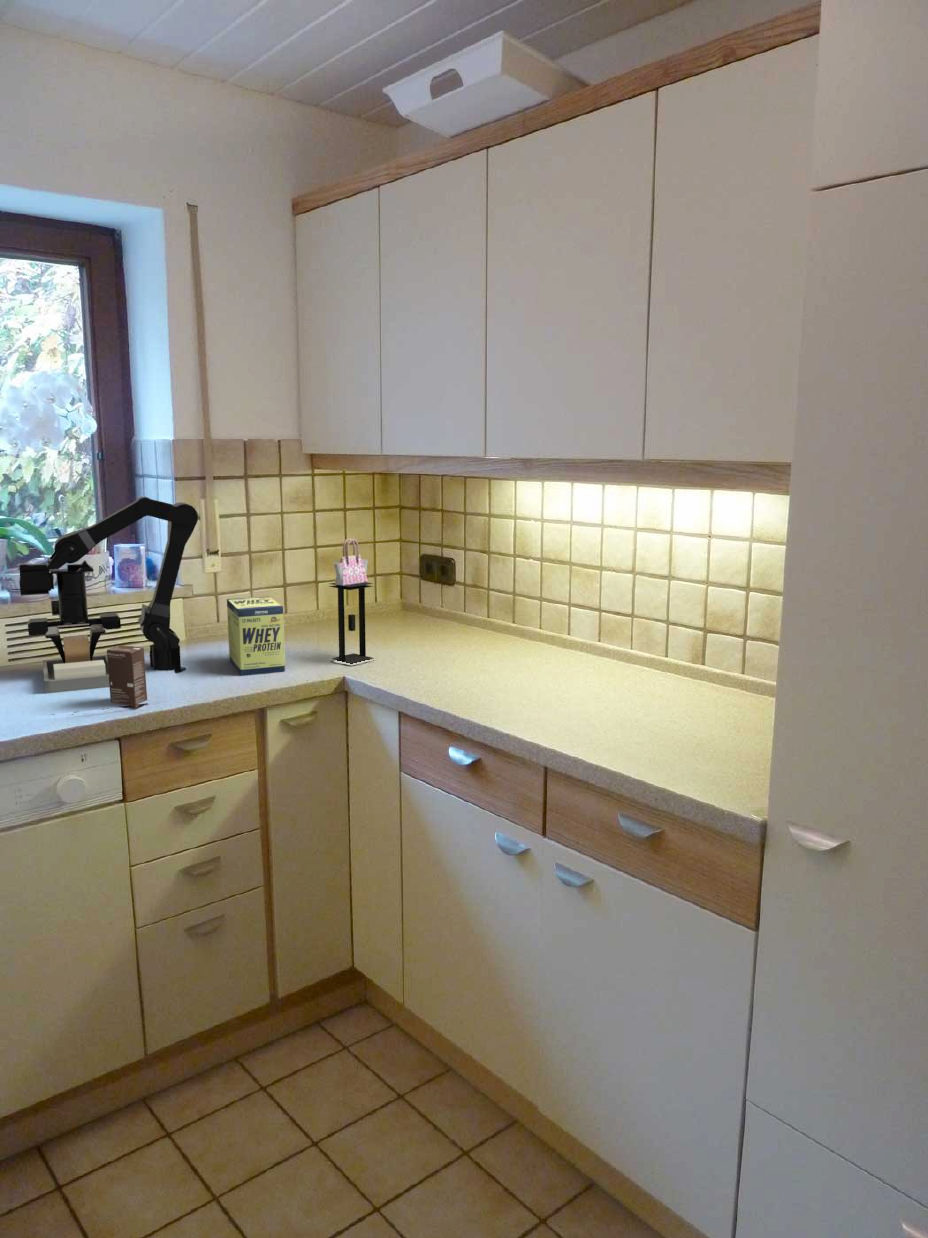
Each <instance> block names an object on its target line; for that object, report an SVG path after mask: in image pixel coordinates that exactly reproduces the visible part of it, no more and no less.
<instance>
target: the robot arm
mask: <svg viewBox="0 0 928 1238" xmlns="http://www.w3.org/2000/svg"><path fill="white" fill-rule="evenodd" d="M144 517H152V518H155V519H156V518H157V519H159V520H162V521H165V522H167V531H166V532H167V534H166V535H167V537H166V539H167V541H166V545H165V549H164V553H163V556H162V561H161V564H160V568H159V573H158V576H157V581H156V584H155V587H154V588H155V589H154V592H153V595H152V598H151V600H150V602H149V603H148V605H146V604H144V603H143V604H142V605H141V612H140V613H141V614H140V616H139V618H138V619H137V622H138V624H139V628H140V630H141V633H142V635H143V636H144V637H145V639H146V640H147V641H148V642H152V644H150V645H149V664H150V668H152V669H153V670H155V671H160V672H161V671H163V672H164V671H173V672H174V673H175V674H176V673H179V672H182V671H186V670H187V668H186V667H185V666H182V662H181V660H182V659H181V645H180V642H181V639H180V638H179V636H178V635H177V633H176V632H175V631H174V630H173V629H172V628H170V627H171V602H172V599H173V594H174V590H175V587H176V583H177V577H178V574H179V570H180V567H181V563H182V559H183V555H184V551H185V547H186V544H187V543H188V541H189V539H190V538H191V536H192V534H193V532H194V530H195V528H196V526H197V523H198V520H199V513H198V512H197V509H196V508H195V507H193V506H192V505H190V504H188V503H186V502H176V503H174V504H173V503H168V502H164V501H160V500H156V499H152V498H149V497H147V496H140V497H138V498H136V500H135V501H133V502H131V503H129V504H128V505H125V506H124V507H122V508H121V509H118V510H117V511H115V512H113V513H111V514H109V515H108V516H107V517H105V518H103V519H101V520H99V521H97V522H96V523H94V524H92V525H89V526H87V527H84V528H80V529H78V530H74V531H71V532H69V533H65V534H62V535H60V536H59V537H58V538H56V540H55V542H54V546H53V548H54V551H53V553H52V554H51V555H50V557H49V558H47V561H46V563H34V564H33V563H20V564H19V566H18V567H19V592H20V596H21V597H23V596H39V595H49V594H50V593H49V592H50V591H51V592H52V590H55V582H54V574H56V586H57V596H58V599H57V600H51V601H50V604H51V615H52V616H59V617H58V618H59V620H49V621H48V617H37V618H29V620H28V621H27V629H28V630H27V632H28V636H32V637H33V636H44V637H45V639H50V640H51V642H52V643H53V644H54V646H55V648H56V650H57V651H58V654H59V657H60V659H62V661H63V663H66V662H65V654H64V645H63V640H62V638H61V633H60V630H63V629H64V630H66V629H77V628H89V650H90V661H92V658H93V656H94V654H95V650H96V646H97V645H98V642H99V640H100V637H101V636H102V635H104V634H107V631H108V630H120V629H121V628H122V625H121V624H122V623H121V617H120V615H119V614H118V613H117V612H106V613H104V612H103V613H99V617H92V618H91V617H90V618H89V611H88V600H87V599H88V597H87V587H86V586H87V584H86V573H92V572H94V571H95V569H94V567H93V566H92V565H90V564H89V563H88V562H87V560H86V559H85V560H84V559H83V561H82V562H81V563H78V564H77V562H78V561H79V560H81V559H82V558H83V557H85V556H86V555H87V554H88V553H89V552H91V551H92V550H93V549H94V548H95V547H96V546H97V545H98V544H100V542H102V541H104V540H105V539H108V538H110V537H111V536H113V535H115V534H116V533H119V532H120V531H122V530H124V529H125V528H126V527H129V526H130V525H132V524H134V523H136V522H138V521H139V520H141V519H143V518H144ZM66 564H67V565H66ZM64 565H66V568H61V567H63V566H64ZM106 630H107V631H106Z"/></svg>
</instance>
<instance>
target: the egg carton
mask: <svg viewBox="0 0 928 1238" xmlns="http://www.w3.org/2000/svg"><path fill="white" fill-rule="evenodd" d="M53 666H54V678H55V680H59V679H69V678H79V677H90V676H100V675H106V669H105V663H104V660H96V661H85V662H74V663H63V664H53Z"/></svg>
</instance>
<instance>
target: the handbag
mask: <svg viewBox="0 0 928 1238" xmlns="http://www.w3.org/2000/svg"><path fill="white" fill-rule="evenodd" d="M351 543H352V548H353V549H352V550H353V551H352V552H353V553H352V554H353V555H349V554H350V553H349V547H350V544H351ZM368 564H369V559H365V558H362V556H361V554H360V548H359V543H358V541H357V540H356V539H355V538H347V539H346V538H345V540H344V542H343V544H342V556H341V557H340V561H337V562H333V565H334V570H335V574H336V576H335V582H330V583H329V586H328V587H330V588H335V589H337V611H338V612H337V617H338V618H337V620H338V624H337V626H338V656H336V657H332V658H330V659H331V660H332V661H334V660H337V661H342V662H346V663H350V664H353V663H357V662H361V661H365V660H373V659H375V657H371V656H367V655H366V651H367V650H366V649H367V648H366V643H367V642H366V596H365V595H366V594H365V593H366V592H365V589H366V588H372V587H374V586H373V585H374V583H373V582H369V580H368V577H367V571H368V570H367V569H368ZM372 584H373V585H372ZM345 590H347V591H353V590H358V631H359V632H358V633H359V638H358V639H359V641H358V642H359V644H358V645H359V653H350V654H346V637H345V635H346V631H345V630H346V629H345V628H346V627H345ZM347 617H348V619H347V620H348V622H347V623H348V624H347V625H348V626H347V627H348V628H347V629H348V631H349V632H355V631H356V614H348V615H347Z"/></svg>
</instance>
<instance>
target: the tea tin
mask: <svg viewBox="0 0 928 1238" xmlns="http://www.w3.org/2000/svg"><path fill="white" fill-rule="evenodd" d="M89 643H90V638H89V636H88V634H79V635H66V636H62V644H63V650H64V654H65V662H66V663H74V662H85V661H90V650H89Z"/></svg>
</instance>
